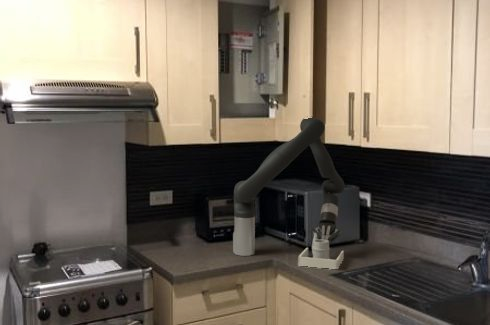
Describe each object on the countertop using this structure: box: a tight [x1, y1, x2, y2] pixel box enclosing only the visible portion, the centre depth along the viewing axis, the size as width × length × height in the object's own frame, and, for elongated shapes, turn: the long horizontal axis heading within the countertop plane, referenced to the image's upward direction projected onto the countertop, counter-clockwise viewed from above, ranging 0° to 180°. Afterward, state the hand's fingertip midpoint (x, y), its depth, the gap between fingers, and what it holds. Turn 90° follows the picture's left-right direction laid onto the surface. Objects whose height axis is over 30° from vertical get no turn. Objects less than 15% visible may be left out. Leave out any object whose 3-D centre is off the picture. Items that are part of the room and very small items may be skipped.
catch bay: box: [297, 247, 345, 270], centre depth 232 cm, size 17×17×4 cm
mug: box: [311, 233, 331, 259], centre depth 232 cm, size 8×12×12 cm, turn 19°
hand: (323, 248), depth 235 cm, fingers closed
